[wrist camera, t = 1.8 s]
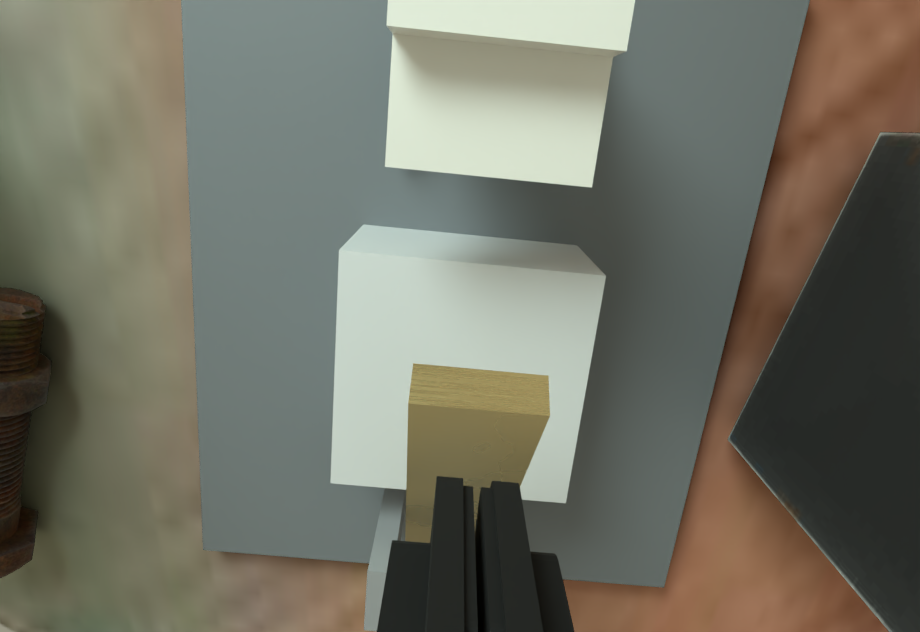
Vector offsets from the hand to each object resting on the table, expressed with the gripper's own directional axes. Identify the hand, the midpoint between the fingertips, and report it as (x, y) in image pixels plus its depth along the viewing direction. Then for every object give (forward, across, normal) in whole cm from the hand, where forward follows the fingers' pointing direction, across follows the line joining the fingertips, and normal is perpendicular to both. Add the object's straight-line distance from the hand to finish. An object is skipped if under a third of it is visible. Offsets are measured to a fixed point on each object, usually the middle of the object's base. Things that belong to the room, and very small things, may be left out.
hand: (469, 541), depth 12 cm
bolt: (+20, +23, +9) cm, 32 cm away
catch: (+18, 0, -10) cm, 20 cm away
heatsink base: (+19, 0, 0) cm, 19 cm away
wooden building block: (+12, 0, +4) cm, 13 cm away
